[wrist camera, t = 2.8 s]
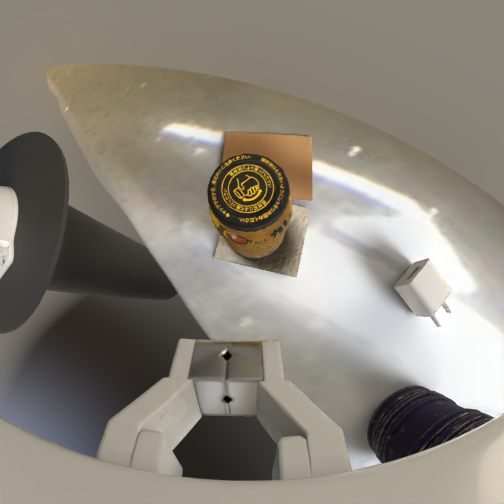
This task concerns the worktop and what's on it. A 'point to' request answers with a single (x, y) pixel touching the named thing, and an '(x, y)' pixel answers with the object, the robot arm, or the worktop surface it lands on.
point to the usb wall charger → (423, 289)
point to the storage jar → (418, 423)
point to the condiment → (256, 215)
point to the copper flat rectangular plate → (278, 156)
